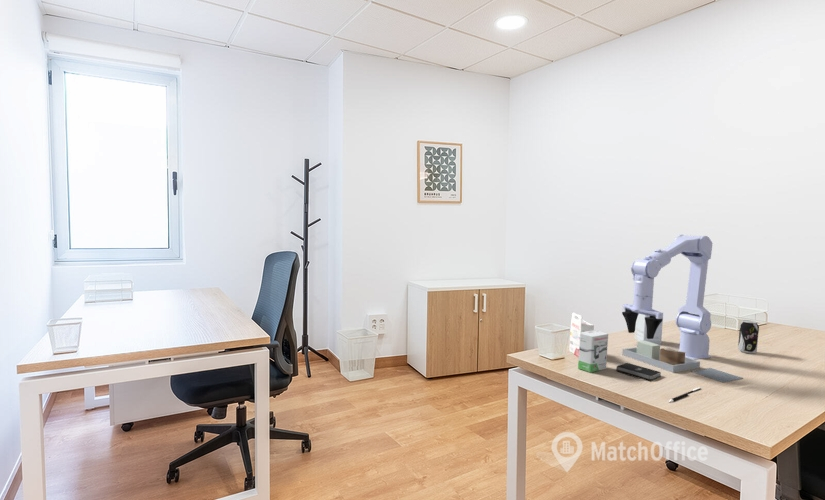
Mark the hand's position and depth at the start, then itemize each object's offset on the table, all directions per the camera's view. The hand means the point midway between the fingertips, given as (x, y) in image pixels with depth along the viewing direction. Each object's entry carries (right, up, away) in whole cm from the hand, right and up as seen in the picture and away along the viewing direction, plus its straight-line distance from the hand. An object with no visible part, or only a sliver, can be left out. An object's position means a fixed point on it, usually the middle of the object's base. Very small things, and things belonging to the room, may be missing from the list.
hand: (640, 335), depth 148 cm
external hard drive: (-5, -11, -9) cm, 15 cm away
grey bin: (+9, -10, +4) cm, 14 cm away
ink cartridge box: (-16, -9, +10) cm, 21 cm away
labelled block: (+10, -10, 0) cm, 14 cm away
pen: (0, -12, -25) cm, 28 cm away
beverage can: (+51, -10, +20) cm, 55 cm away
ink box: (-18, -10, -5) cm, 21 cm away
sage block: (+7, -9, +8) cm, 14 cm away
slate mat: (+20, -11, -9) cm, 24 cm away
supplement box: (+19, -9, +30) cm, 37 cm away
